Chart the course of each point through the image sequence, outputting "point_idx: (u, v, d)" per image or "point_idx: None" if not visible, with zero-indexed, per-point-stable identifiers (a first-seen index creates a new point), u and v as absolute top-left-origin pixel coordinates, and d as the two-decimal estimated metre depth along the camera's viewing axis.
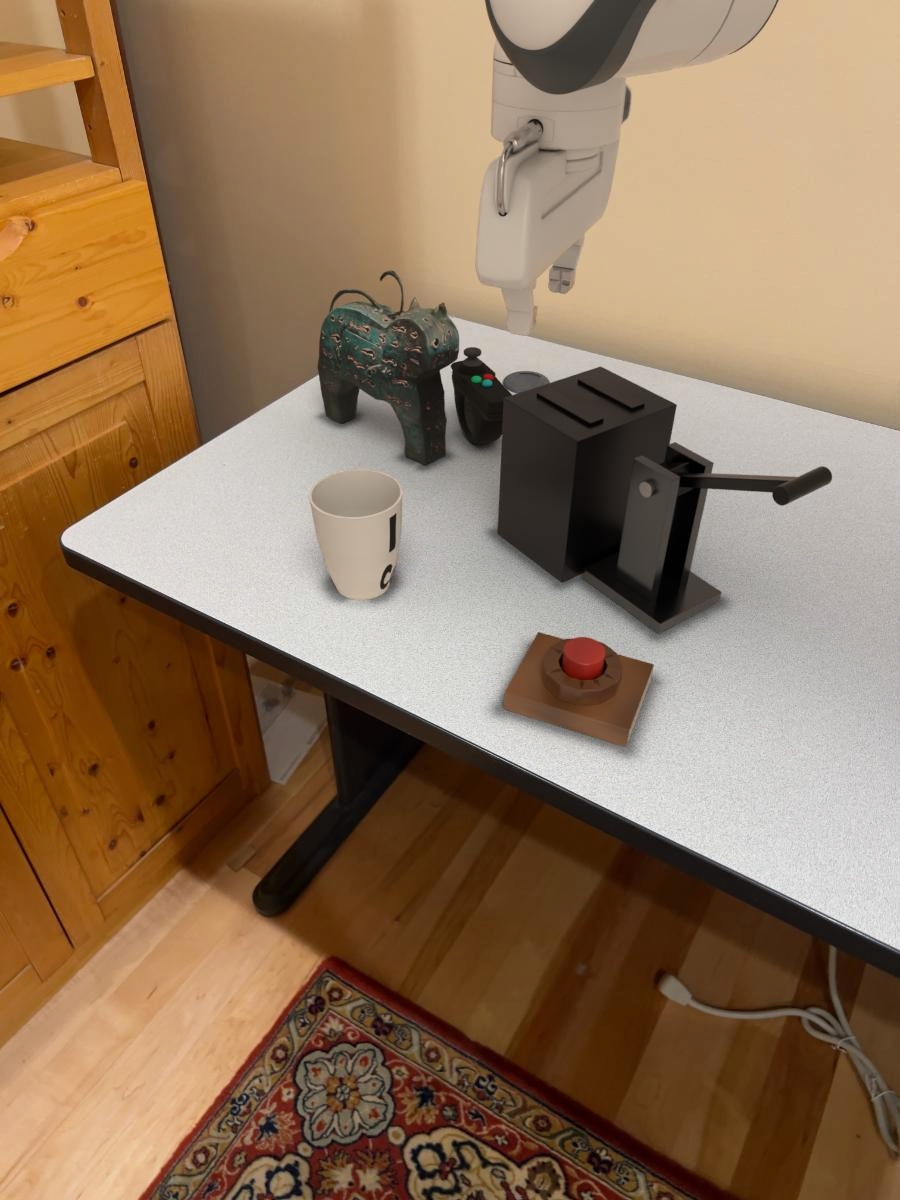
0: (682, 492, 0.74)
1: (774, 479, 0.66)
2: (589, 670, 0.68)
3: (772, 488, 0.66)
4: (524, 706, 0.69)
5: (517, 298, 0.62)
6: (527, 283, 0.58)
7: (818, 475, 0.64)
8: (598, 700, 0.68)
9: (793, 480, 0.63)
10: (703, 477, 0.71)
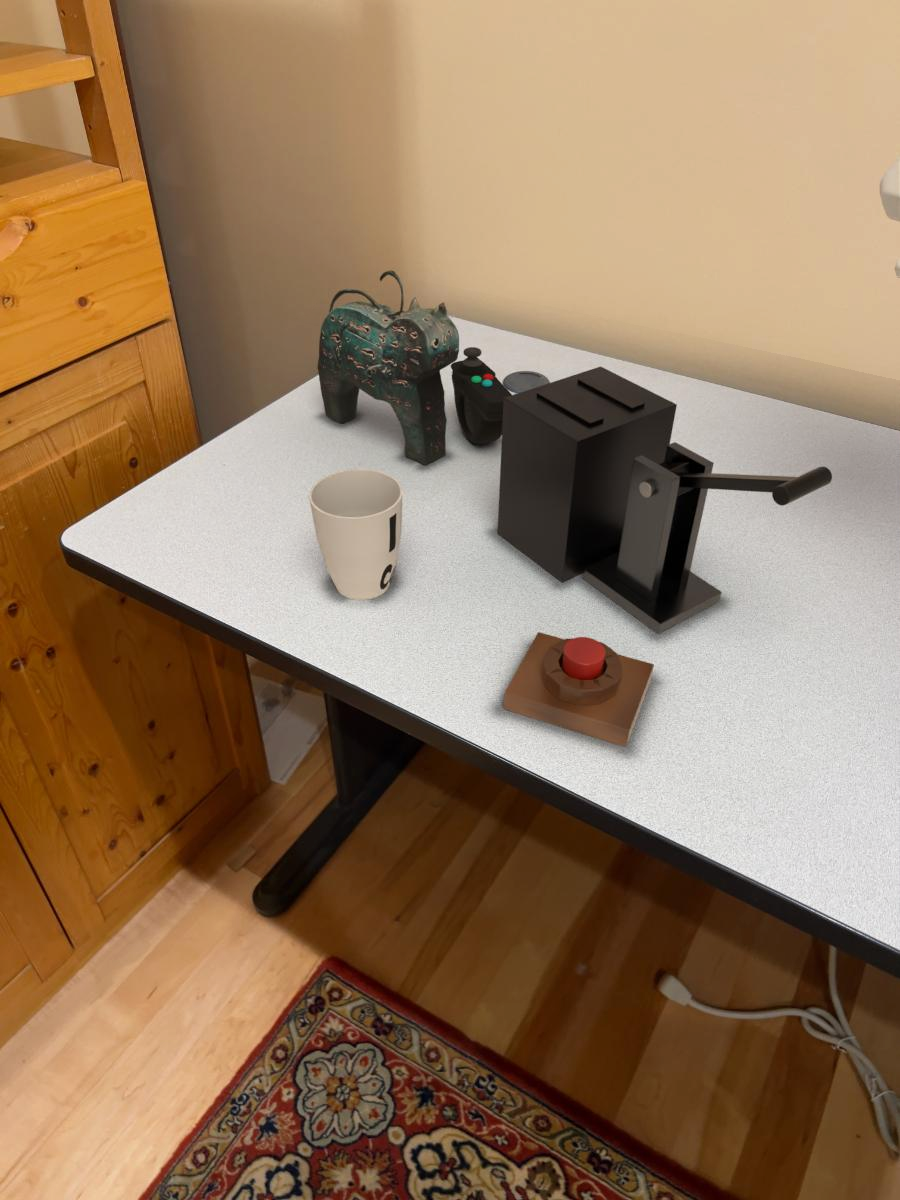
0: (682, 492, 0.74)
1: (774, 479, 0.66)
2: (589, 670, 0.68)
3: (772, 488, 0.66)
4: (524, 706, 0.69)
5: None
6: (885, 186, 0.67)
7: (818, 475, 0.64)
8: (598, 700, 0.68)
9: (793, 480, 0.63)
10: (703, 477, 0.71)
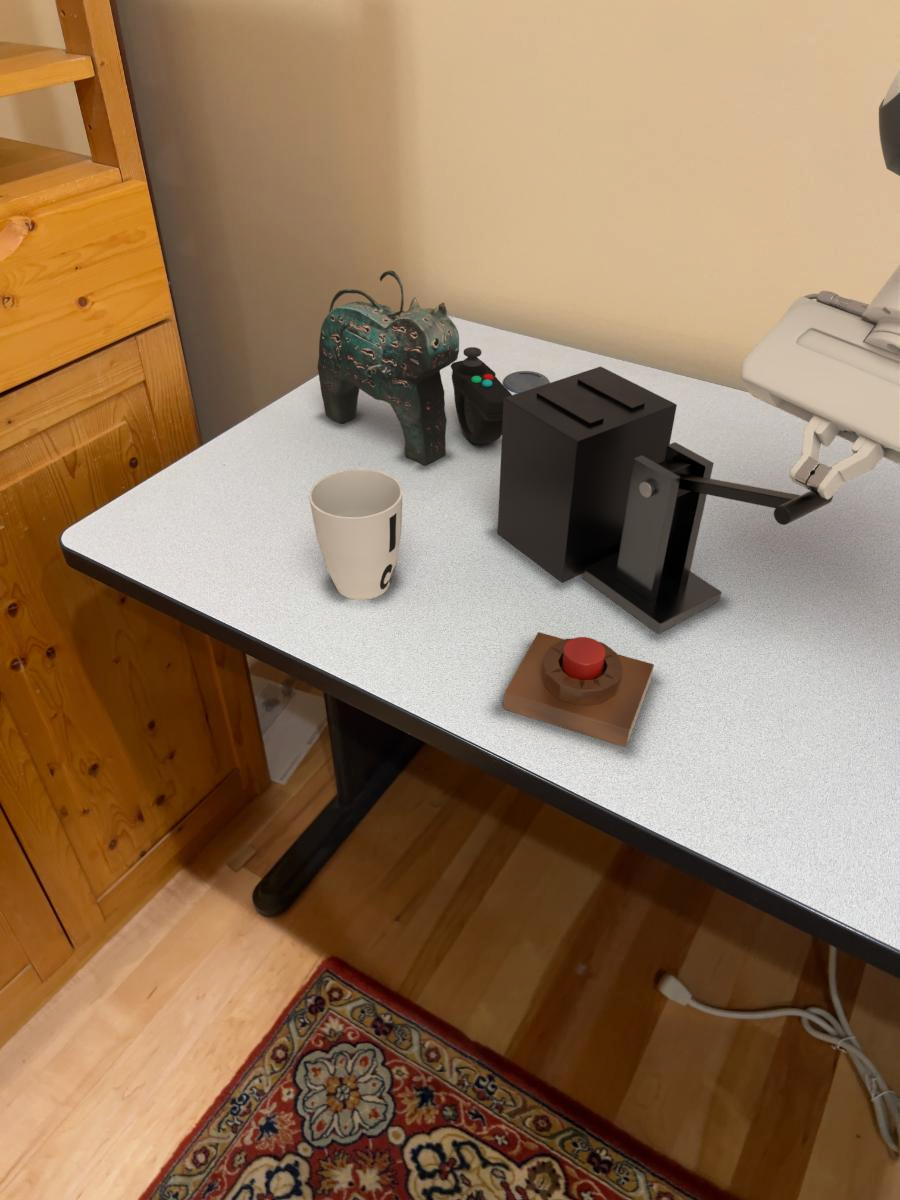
0: (681, 494, 0.74)
1: (776, 495, 0.66)
2: (589, 670, 0.68)
3: (773, 504, 0.66)
4: (524, 706, 0.69)
5: None
6: (744, 371, 0.68)
7: None
8: (598, 700, 0.68)
9: (795, 500, 0.64)
10: (704, 483, 0.71)
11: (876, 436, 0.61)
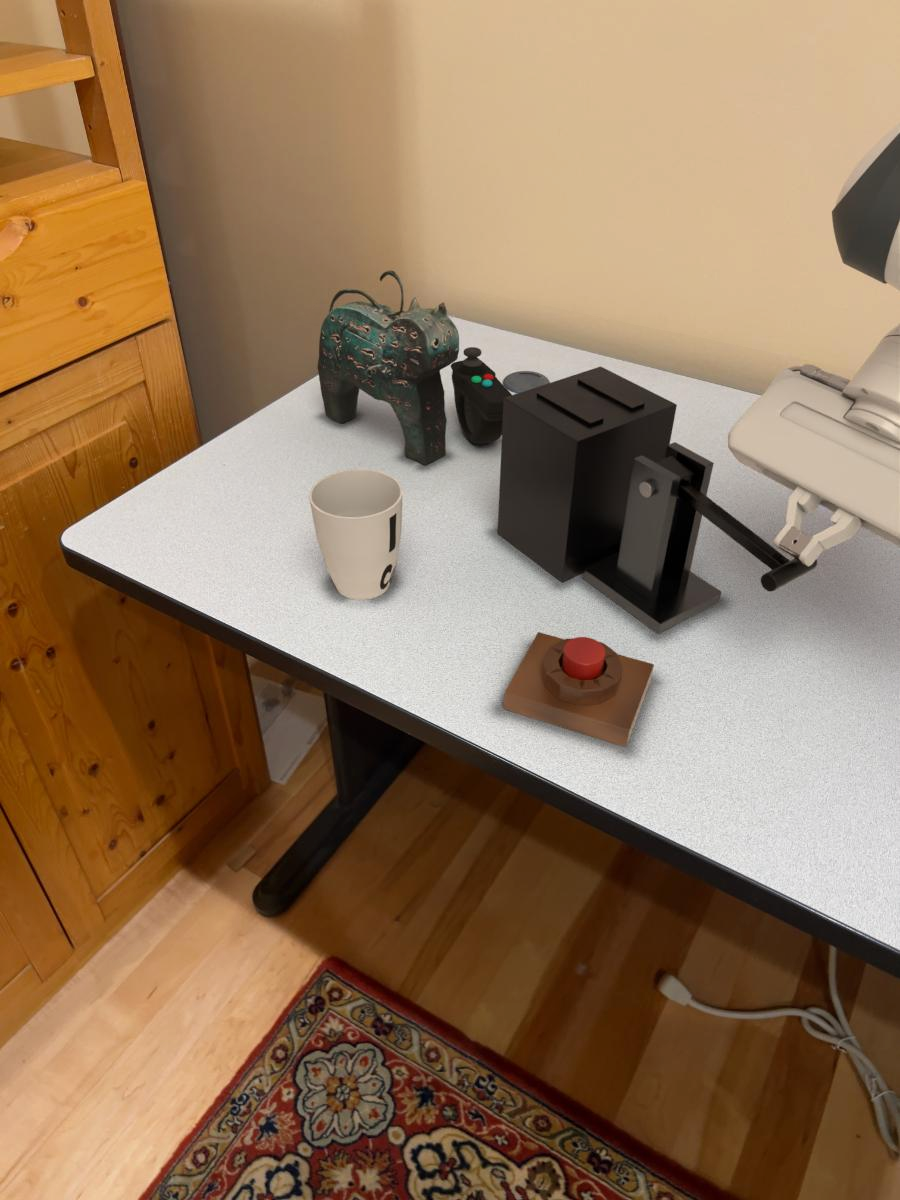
0: (676, 498, 0.75)
1: (767, 552, 0.69)
2: (589, 670, 0.68)
3: (762, 558, 0.69)
4: (524, 706, 0.69)
5: None
6: (731, 441, 0.71)
7: (806, 566, 0.68)
8: (598, 700, 0.68)
9: (784, 569, 0.67)
10: (703, 505, 0.72)
11: (854, 510, 0.64)
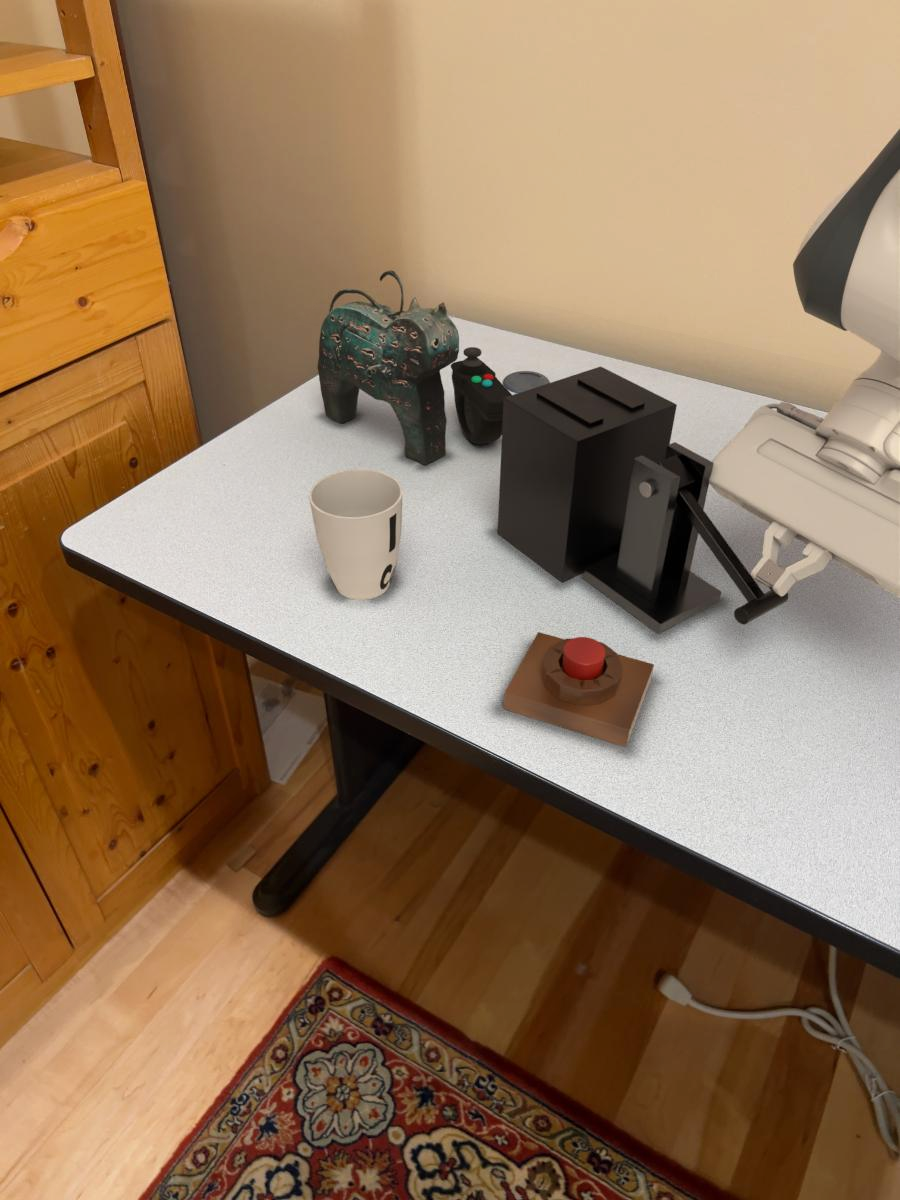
0: None
1: (746, 582, 0.72)
2: (589, 670, 0.68)
3: (739, 586, 0.72)
4: (524, 706, 0.69)
5: None
6: None
7: (777, 603, 0.72)
8: (598, 700, 0.68)
9: (758, 606, 0.71)
10: (697, 518, 0.73)
11: (825, 545, 0.67)
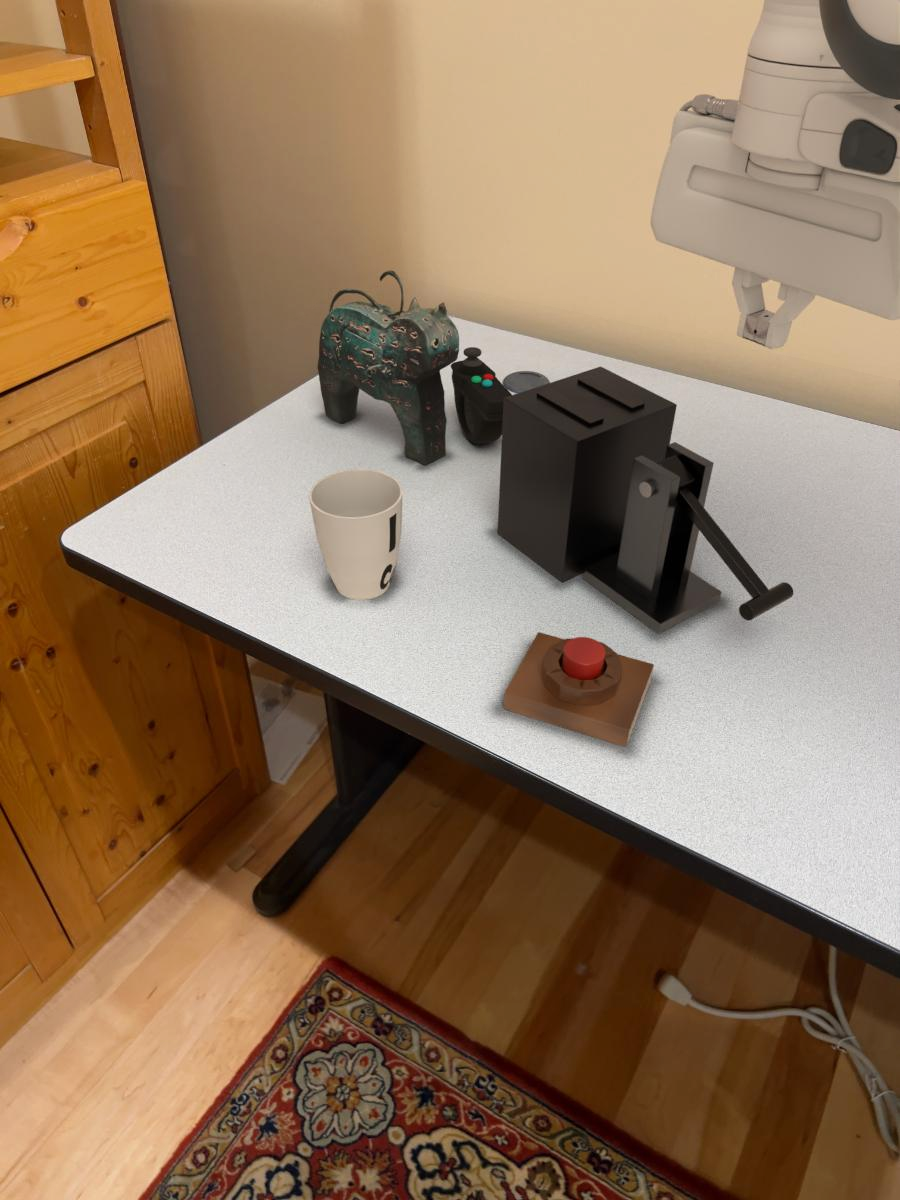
0: None
1: (750, 578, 0.71)
2: (589, 670, 0.68)
3: (743, 582, 0.72)
4: (524, 706, 0.69)
5: None
6: (655, 234, 0.62)
7: (783, 598, 0.71)
8: (598, 700, 0.68)
9: (763, 602, 0.70)
10: (698, 516, 0.73)
11: (793, 285, 0.55)
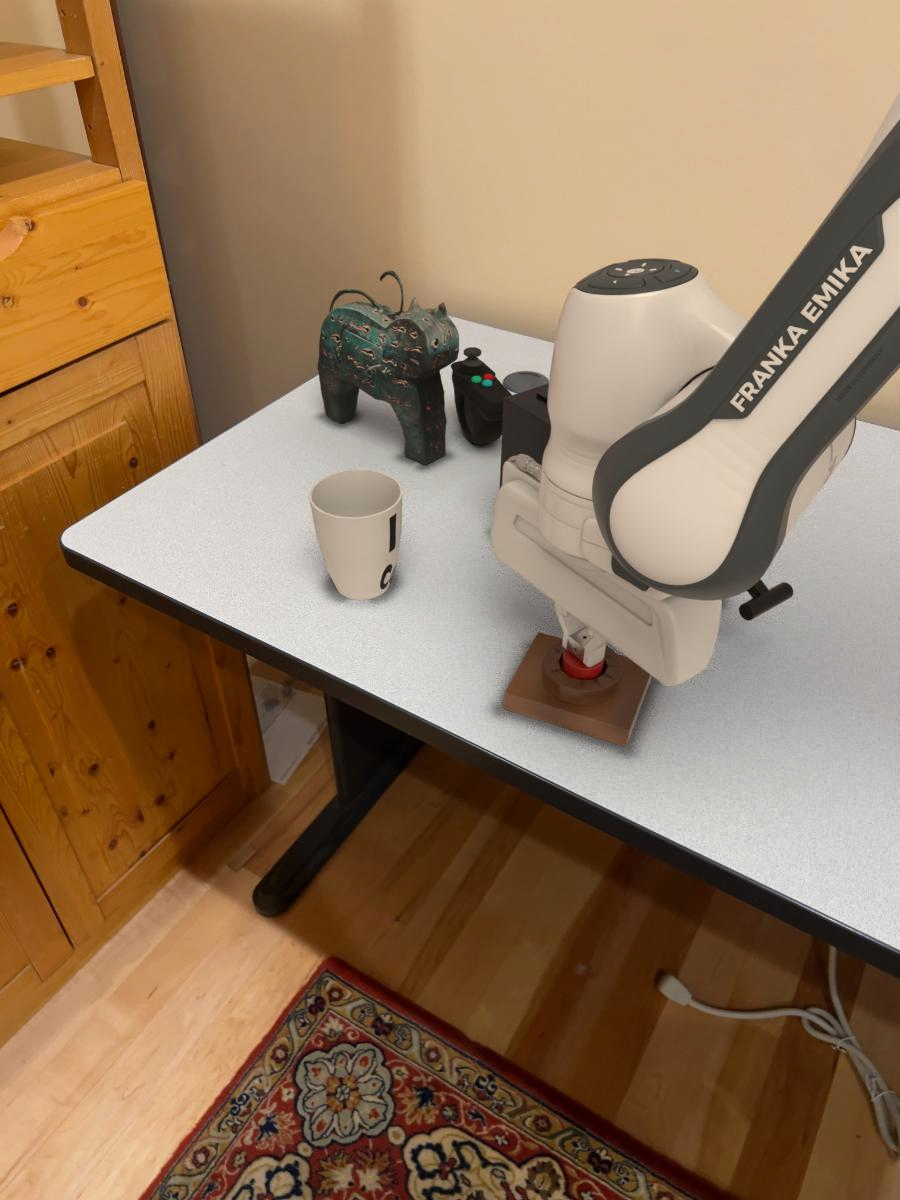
0: None
1: None
2: (588, 675, 0.68)
3: None
4: (524, 706, 0.69)
5: None
6: (494, 552, 0.71)
7: (783, 598, 0.71)
8: (598, 700, 0.68)
9: (763, 602, 0.70)
10: None
11: (596, 632, 0.64)
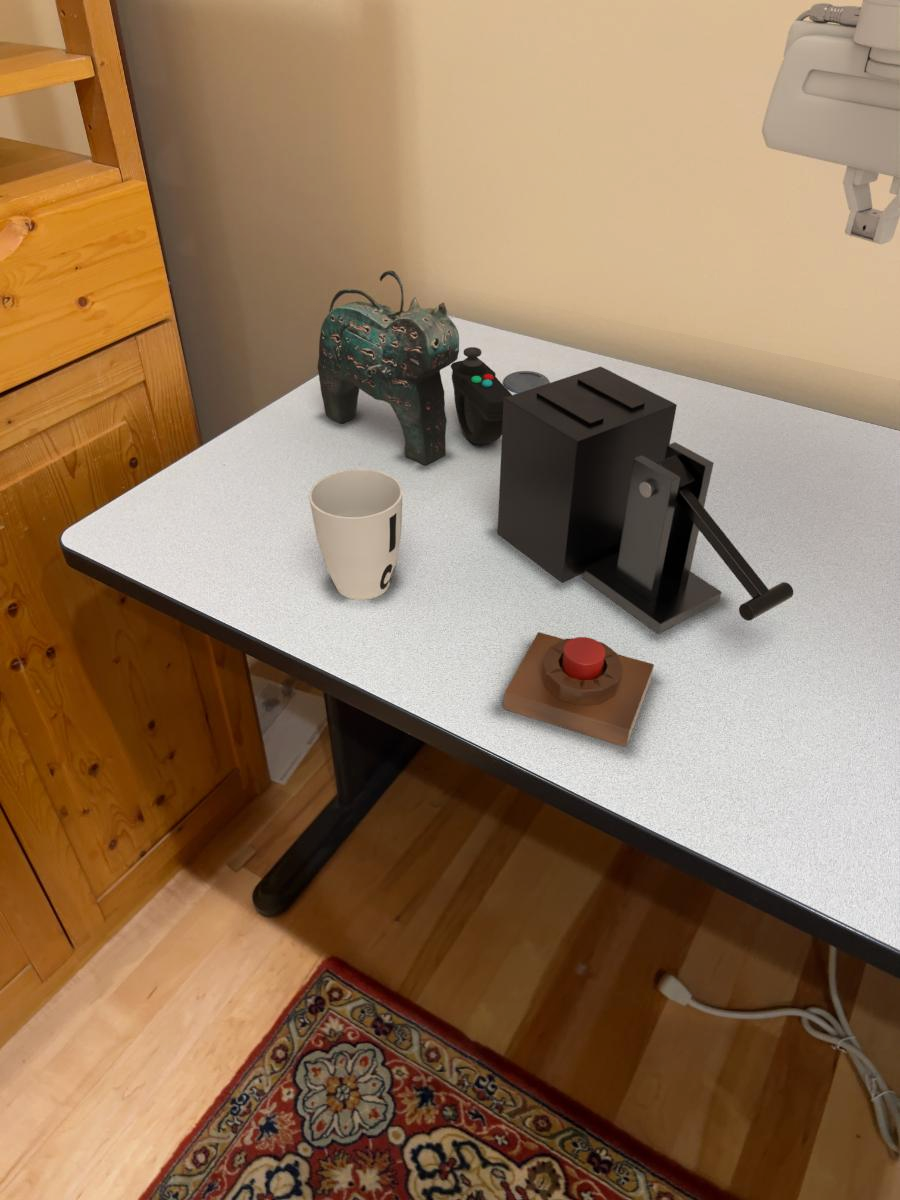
0: None
1: (750, 578, 0.71)
2: (589, 670, 0.68)
3: (743, 582, 0.72)
4: (524, 706, 0.69)
5: None
6: (767, 141, 0.67)
7: (783, 598, 0.71)
8: (598, 700, 0.68)
9: (763, 602, 0.70)
10: (698, 516, 0.73)
11: None
